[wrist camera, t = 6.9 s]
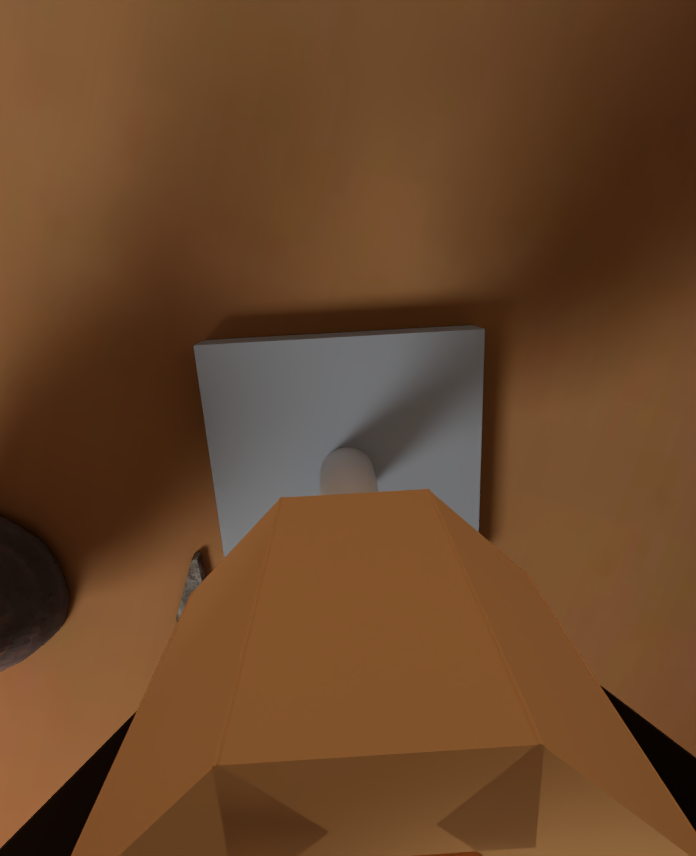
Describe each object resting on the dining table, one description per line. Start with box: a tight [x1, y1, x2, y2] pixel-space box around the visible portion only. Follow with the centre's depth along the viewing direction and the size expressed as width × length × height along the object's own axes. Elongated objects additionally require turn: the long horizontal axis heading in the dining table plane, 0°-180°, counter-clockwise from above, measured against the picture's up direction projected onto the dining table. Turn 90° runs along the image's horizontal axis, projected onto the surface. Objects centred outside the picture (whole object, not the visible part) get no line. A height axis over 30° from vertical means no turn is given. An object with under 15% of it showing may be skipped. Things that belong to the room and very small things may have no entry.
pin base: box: [193, 325, 485, 558], centre depth 15 cm, size 10×10×9 cm
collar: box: [71, 488, 696, 856], centre depth 7 cm, size 6×6×5 cm
